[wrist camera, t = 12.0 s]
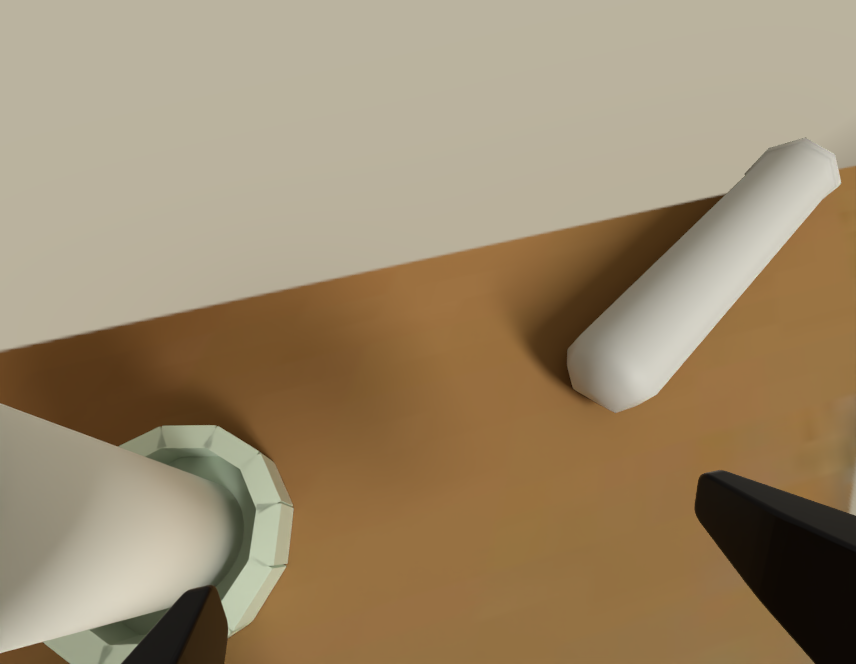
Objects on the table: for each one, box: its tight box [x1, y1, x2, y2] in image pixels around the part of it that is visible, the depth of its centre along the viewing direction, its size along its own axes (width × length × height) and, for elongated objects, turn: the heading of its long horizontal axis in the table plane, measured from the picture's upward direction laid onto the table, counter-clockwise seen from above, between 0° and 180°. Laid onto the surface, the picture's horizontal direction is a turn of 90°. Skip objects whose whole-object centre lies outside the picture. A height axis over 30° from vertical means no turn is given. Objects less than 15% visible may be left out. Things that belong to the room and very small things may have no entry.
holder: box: [43, 425, 294, 664], centre depth 18 cm, size 9×9×2 cm
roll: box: [0, 403, 244, 653], centre depth 13 cm, size 5×5×13 cm
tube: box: [567, 138, 841, 413], centre depth 26 cm, size 5×5×25 cm
